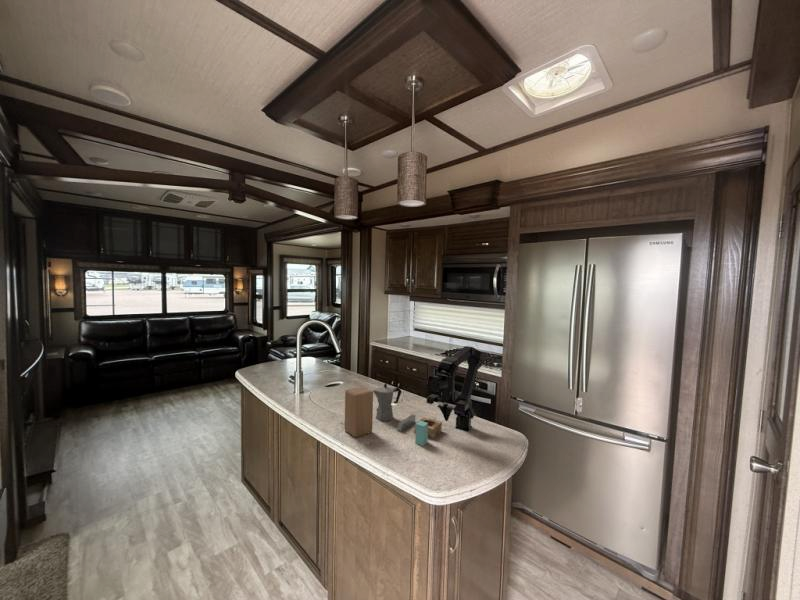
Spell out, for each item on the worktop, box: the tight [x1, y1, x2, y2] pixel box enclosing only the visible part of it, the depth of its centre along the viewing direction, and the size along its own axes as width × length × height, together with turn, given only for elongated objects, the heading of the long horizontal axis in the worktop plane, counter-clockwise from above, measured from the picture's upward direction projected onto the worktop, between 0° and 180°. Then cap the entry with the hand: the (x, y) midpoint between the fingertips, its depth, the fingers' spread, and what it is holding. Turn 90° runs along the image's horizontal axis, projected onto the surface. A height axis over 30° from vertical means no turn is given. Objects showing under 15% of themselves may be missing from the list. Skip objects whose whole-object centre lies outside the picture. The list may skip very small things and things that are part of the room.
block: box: [344, 385, 374, 438], centre depth 150 cm, size 10×10×20 cm
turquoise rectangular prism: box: [414, 420, 429, 447], centre depth 140 cm, size 4×4×9 cm
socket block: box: [413, 417, 443, 440], centre depth 151 cm, size 10×10×4 cm
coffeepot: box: [372, 383, 402, 422], centre depth 167 cm, size 15×9×18 cm, turn 107°
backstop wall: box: [397, 414, 416, 433], centre depth 157 cm, size 2×14×4 cm, turn 149°
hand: (446, 420), depth 146 cm, fingers closed
